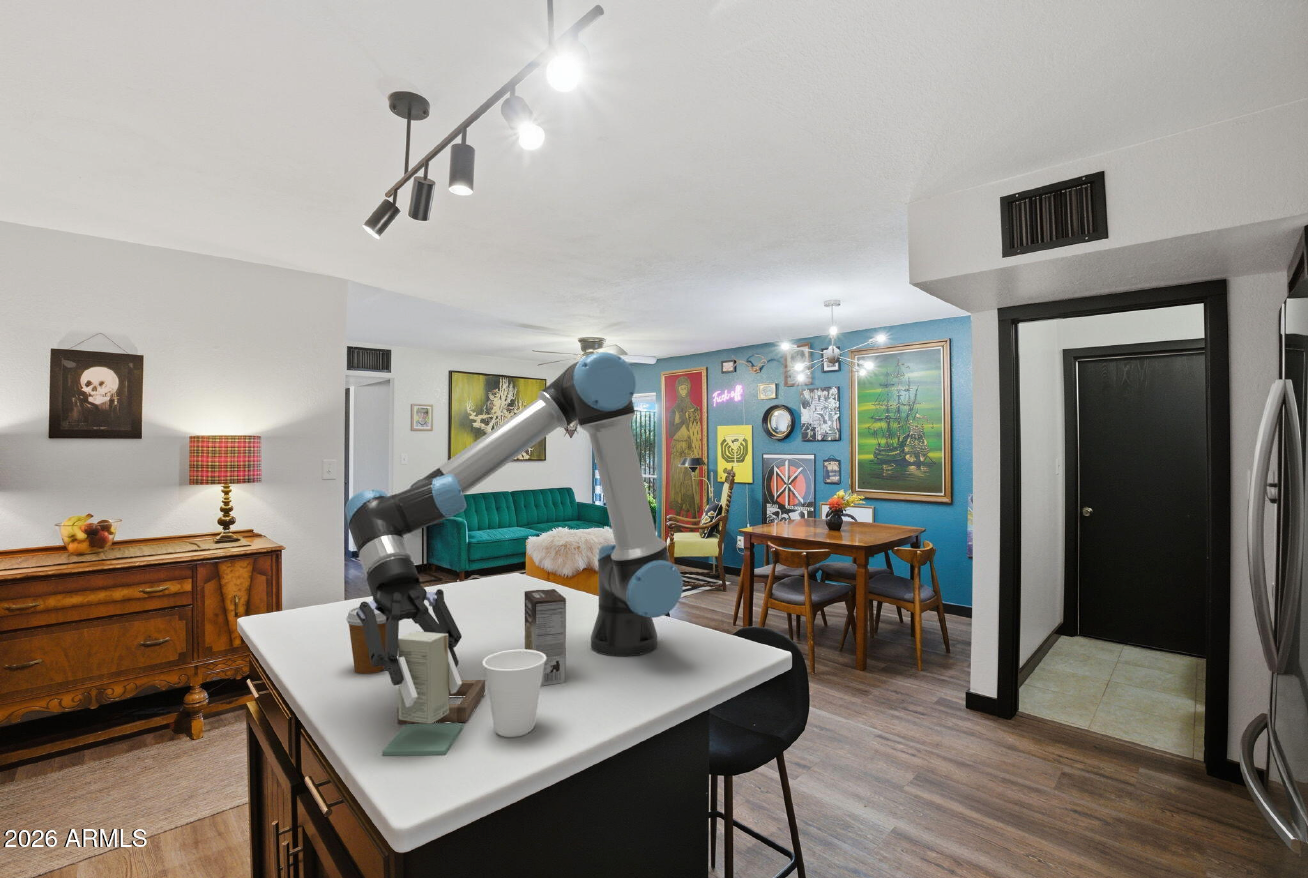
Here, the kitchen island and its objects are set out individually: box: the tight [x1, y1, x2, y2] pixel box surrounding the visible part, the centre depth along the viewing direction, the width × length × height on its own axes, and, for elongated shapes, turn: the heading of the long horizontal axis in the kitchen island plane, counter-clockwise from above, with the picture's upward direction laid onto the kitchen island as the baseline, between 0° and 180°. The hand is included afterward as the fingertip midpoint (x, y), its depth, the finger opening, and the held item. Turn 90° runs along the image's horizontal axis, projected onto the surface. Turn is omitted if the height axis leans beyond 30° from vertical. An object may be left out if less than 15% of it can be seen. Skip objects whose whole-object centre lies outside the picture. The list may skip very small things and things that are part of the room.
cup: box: [482, 648, 546, 738], centre depth 96 cm, size 10×10×11 cm
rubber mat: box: [381, 723, 464, 757], centre depth 92 cm, size 9×9×1 cm
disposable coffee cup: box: [345, 606, 386, 675], centre depth 124 cm, size 10×10×12 cm
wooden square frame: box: [396, 679, 486, 725], centre depth 104 cm, size 11×12×2 cm
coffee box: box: [524, 588, 567, 687], centre depth 119 cm, size 9×6×16 cm
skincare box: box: [397, 630, 450, 724], centre depth 93 cm, size 6×4×12 cm
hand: (434, 694), depth 90 cm, fingers closed on skincare box, 6 cm apart
